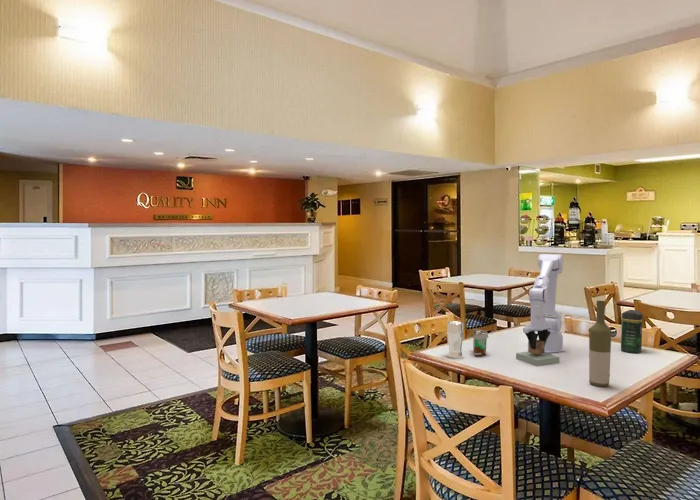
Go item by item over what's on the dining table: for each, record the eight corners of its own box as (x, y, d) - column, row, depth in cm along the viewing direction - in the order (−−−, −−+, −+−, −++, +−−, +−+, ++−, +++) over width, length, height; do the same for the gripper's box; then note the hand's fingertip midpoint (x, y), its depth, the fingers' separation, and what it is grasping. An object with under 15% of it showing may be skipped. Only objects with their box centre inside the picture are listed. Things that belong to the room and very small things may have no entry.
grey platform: (537, 356, 208) (537, 350, 207) (559, 364, 196) (559, 357, 196) (516, 359, 203) (516, 353, 203) (536, 367, 192) (536, 360, 192)
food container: (489, 358, 204) (489, 335, 204) (474, 357, 205) (474, 334, 205) (487, 350, 216) (487, 329, 216) (473, 350, 217) (473, 328, 217)
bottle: (589, 386, 167) (590, 302, 166) (587, 380, 174) (588, 299, 172) (611, 388, 165) (613, 303, 163) (608, 382, 171) (610, 300, 170)
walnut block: (536, 350, 203) (536, 339, 203) (544, 353, 199) (544, 341, 199) (528, 352, 201) (528, 340, 201) (536, 354, 197) (536, 342, 197)
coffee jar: (639, 354, 209) (640, 312, 208) (619, 351, 214) (620, 310, 213) (643, 350, 216) (644, 309, 215) (623, 347, 221) (624, 308, 220)
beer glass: (466, 356, 207) (466, 322, 206) (458, 359, 202) (458, 324, 201) (452, 353, 212) (452, 320, 211) (443, 356, 207) (444, 322, 206)
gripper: (543, 313, 205) (542, 344, 206) (517, 315, 199) (517, 347, 200) (556, 315, 199) (555, 347, 200) (530, 318, 193) (530, 351, 194)
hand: (537, 348), depth 199 cm, fingers closed on walnut block, 4 cm apart
